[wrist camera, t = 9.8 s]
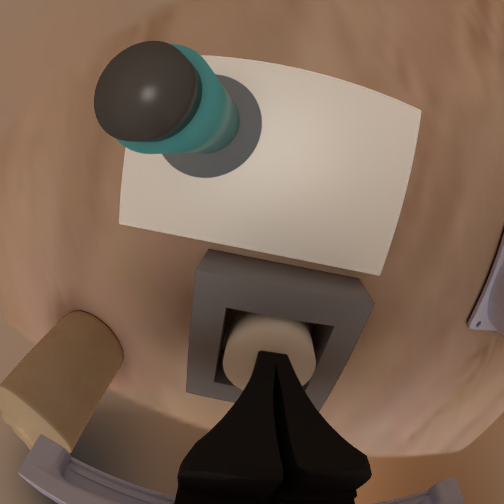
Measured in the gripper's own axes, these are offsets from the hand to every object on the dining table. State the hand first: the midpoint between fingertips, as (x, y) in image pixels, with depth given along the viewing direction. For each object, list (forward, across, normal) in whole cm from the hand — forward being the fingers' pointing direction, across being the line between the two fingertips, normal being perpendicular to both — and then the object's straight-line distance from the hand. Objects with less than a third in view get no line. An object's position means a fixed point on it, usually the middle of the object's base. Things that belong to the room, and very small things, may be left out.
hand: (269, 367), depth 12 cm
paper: (+3, +2, -9) cm, 10 cm away
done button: (+3, 0, 0) cm, 3 cm away
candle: (+3, +12, +5) cm, 13 cm away
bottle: (+3, +5, -10) cm, 12 cm away
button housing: (+3, 0, 0) cm, 3 cm away
